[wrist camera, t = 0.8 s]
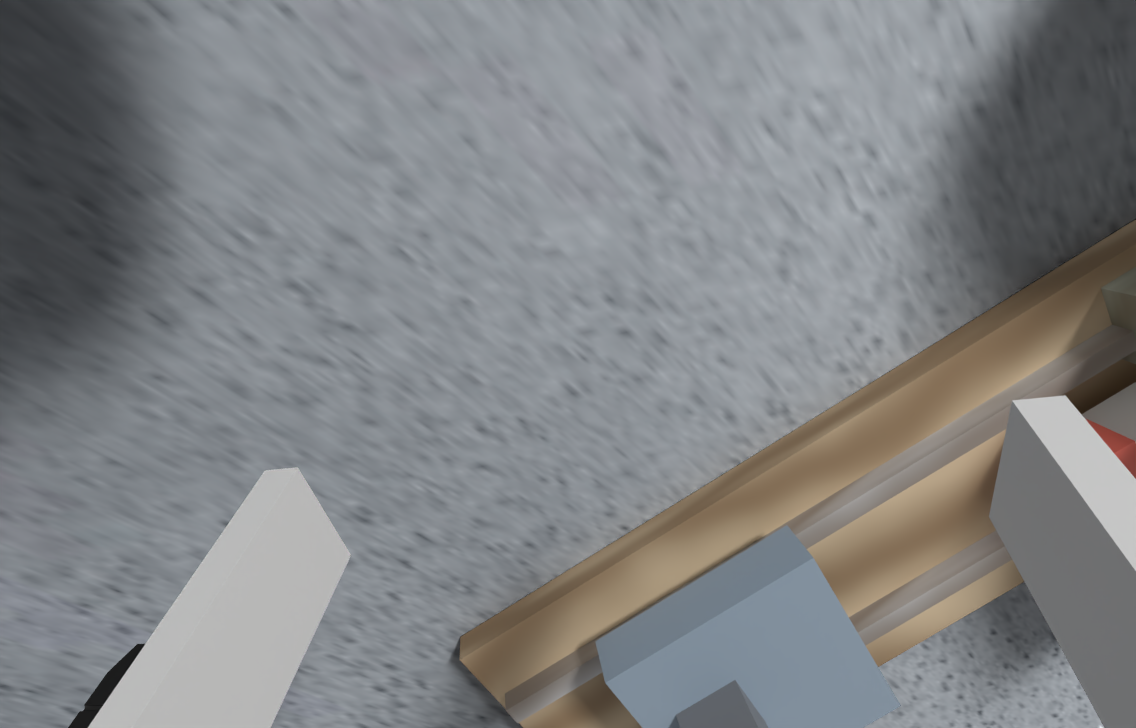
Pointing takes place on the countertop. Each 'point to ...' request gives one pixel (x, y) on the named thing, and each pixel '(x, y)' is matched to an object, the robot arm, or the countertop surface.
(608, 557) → the rail track
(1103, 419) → the button
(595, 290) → the countertop surface
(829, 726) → the carriage
